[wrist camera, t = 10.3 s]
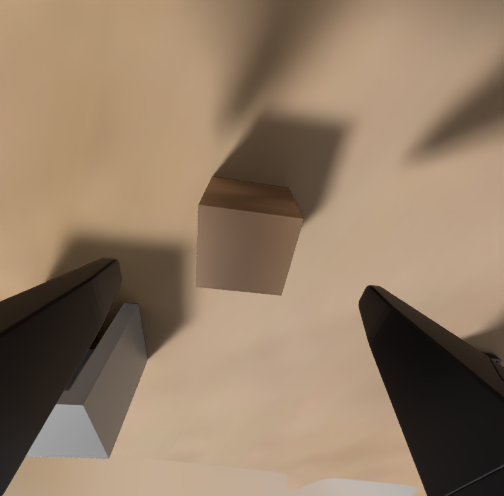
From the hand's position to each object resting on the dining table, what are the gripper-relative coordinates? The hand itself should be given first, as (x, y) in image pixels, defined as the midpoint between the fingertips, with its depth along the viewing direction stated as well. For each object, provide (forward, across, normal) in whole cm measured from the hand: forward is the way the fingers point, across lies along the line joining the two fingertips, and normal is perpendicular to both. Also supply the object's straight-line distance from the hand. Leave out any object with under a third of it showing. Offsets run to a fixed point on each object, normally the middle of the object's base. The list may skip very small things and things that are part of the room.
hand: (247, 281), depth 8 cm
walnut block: (+6, 0, 0) cm, 6 cm away
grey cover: (+6, +10, +11) cm, 16 cm away
